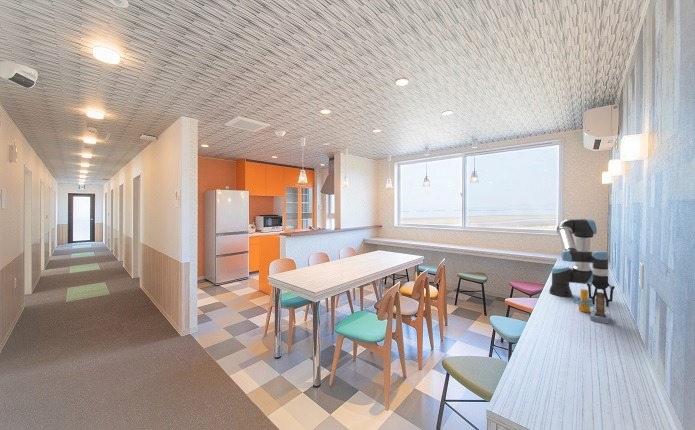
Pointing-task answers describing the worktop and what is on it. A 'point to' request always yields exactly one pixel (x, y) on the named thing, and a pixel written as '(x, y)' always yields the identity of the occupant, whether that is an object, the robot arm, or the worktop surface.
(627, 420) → the worktop surface
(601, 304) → the peg
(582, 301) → the yellow and blue toy
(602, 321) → the socket plate
